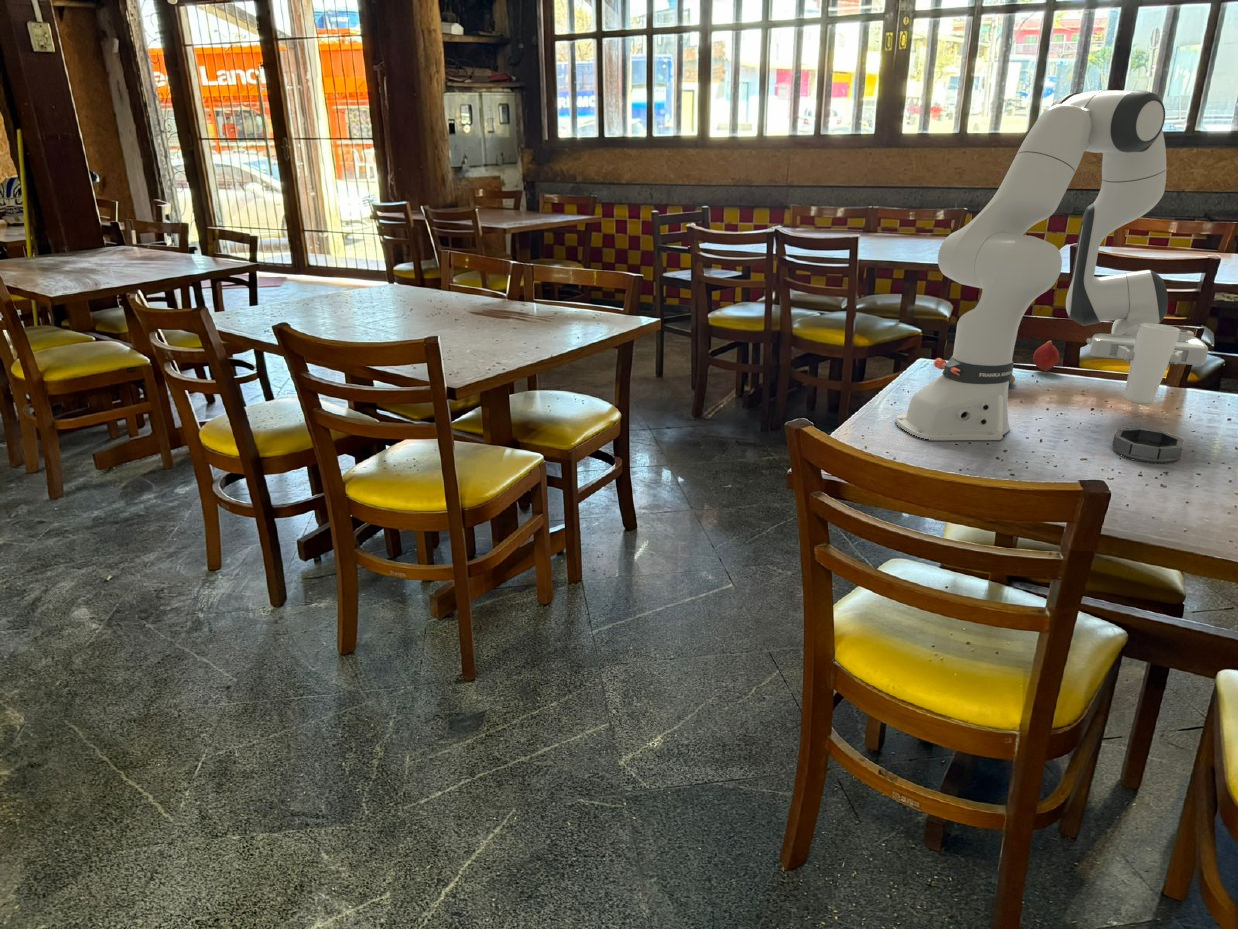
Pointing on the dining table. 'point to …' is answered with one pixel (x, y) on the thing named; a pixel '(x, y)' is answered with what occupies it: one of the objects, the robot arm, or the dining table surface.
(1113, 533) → the dining table surface
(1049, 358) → the onion
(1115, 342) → the robot arm
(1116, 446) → the ring
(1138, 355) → the drinking glass
